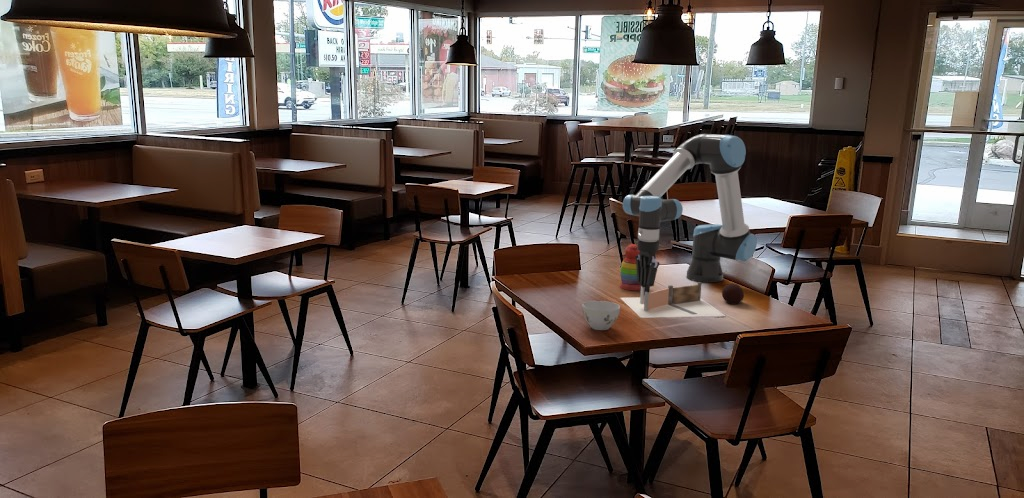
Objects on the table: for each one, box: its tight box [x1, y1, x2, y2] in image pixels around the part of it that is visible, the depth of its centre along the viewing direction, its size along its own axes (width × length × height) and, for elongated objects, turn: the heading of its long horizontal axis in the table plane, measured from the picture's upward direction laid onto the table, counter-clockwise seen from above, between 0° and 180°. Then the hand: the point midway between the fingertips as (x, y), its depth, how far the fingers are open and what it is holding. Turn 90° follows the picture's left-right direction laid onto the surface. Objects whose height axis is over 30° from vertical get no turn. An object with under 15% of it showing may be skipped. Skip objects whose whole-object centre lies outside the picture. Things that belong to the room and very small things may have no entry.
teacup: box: [581, 300, 621, 331], centre depth 254 cm, size 15×12×8 cm
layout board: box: [620, 296, 727, 319], centre depth 279 cm, size 31×26×1 cm
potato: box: [721, 283, 745, 305], centre depth 286 cm, size 8×9×8 cm
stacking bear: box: [619, 242, 641, 292], centre depth 305 cm, size 11×10×18 cm
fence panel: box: [644, 287, 669, 311], centre depth 276 cm, size 13×1×7 cm, turn 132°
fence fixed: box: [667, 281, 703, 305], centre depth 284 cm, size 16×2×7 cm, turn 118°
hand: (644, 303), depth 276 cm, fingers closed
